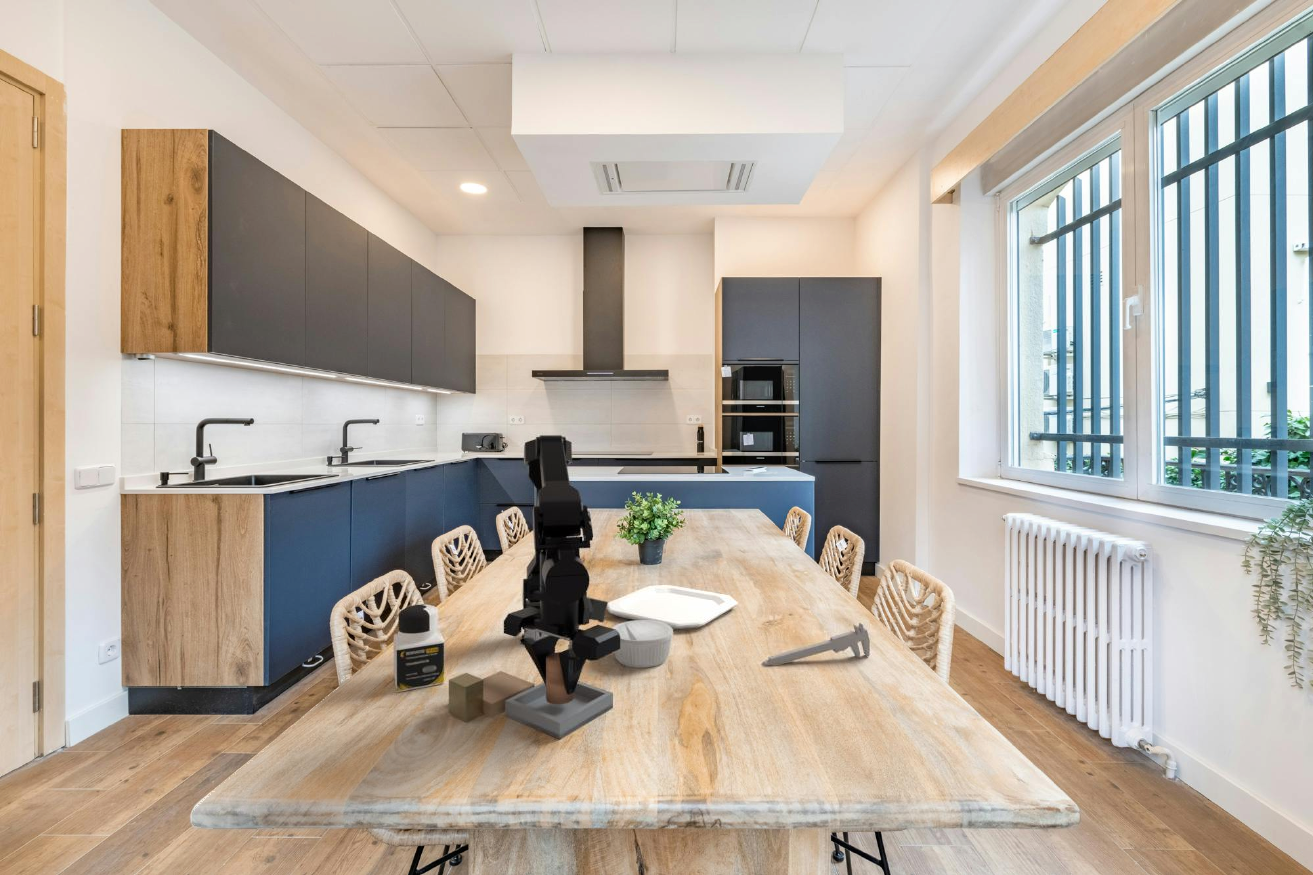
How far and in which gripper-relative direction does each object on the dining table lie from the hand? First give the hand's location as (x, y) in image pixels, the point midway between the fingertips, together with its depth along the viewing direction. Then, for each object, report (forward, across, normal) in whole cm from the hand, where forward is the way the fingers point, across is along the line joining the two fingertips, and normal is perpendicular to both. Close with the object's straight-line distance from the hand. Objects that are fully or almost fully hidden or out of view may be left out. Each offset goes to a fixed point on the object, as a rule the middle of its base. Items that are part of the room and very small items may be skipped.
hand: (560, 689), depth 85 cm
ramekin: (+4, +2, -23) cm, 23 cm away
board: (+4, +10, +3) cm, 12 cm away
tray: (+3, 0, 0) cm, 3 cm away
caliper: (+4, -24, -41) cm, 47 cm away
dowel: (+1, 0, 0) cm, 1 cm away
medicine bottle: (+4, +26, +6) cm, 27 cm away
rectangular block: (+3, +10, +9) cm, 14 cm away
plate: (+4, +14, -49) cm, 51 cm away
